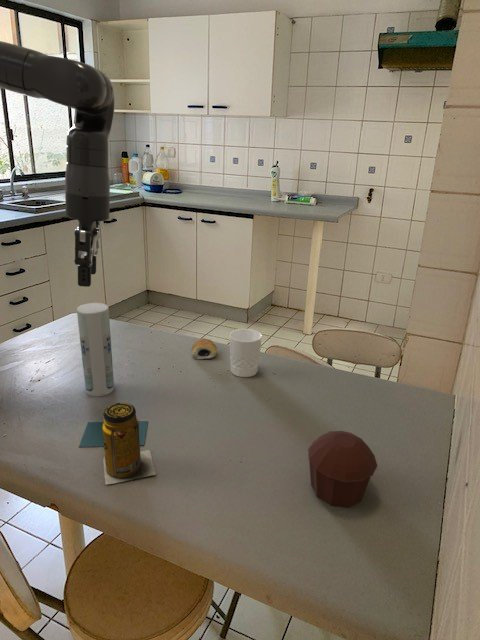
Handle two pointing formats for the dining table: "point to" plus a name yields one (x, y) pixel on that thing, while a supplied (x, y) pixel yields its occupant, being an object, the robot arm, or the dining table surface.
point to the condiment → (124, 446)
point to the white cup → (245, 352)
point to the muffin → (340, 468)
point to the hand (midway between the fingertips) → (87, 279)
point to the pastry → (204, 349)
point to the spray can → (96, 348)
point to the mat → (95, 434)
